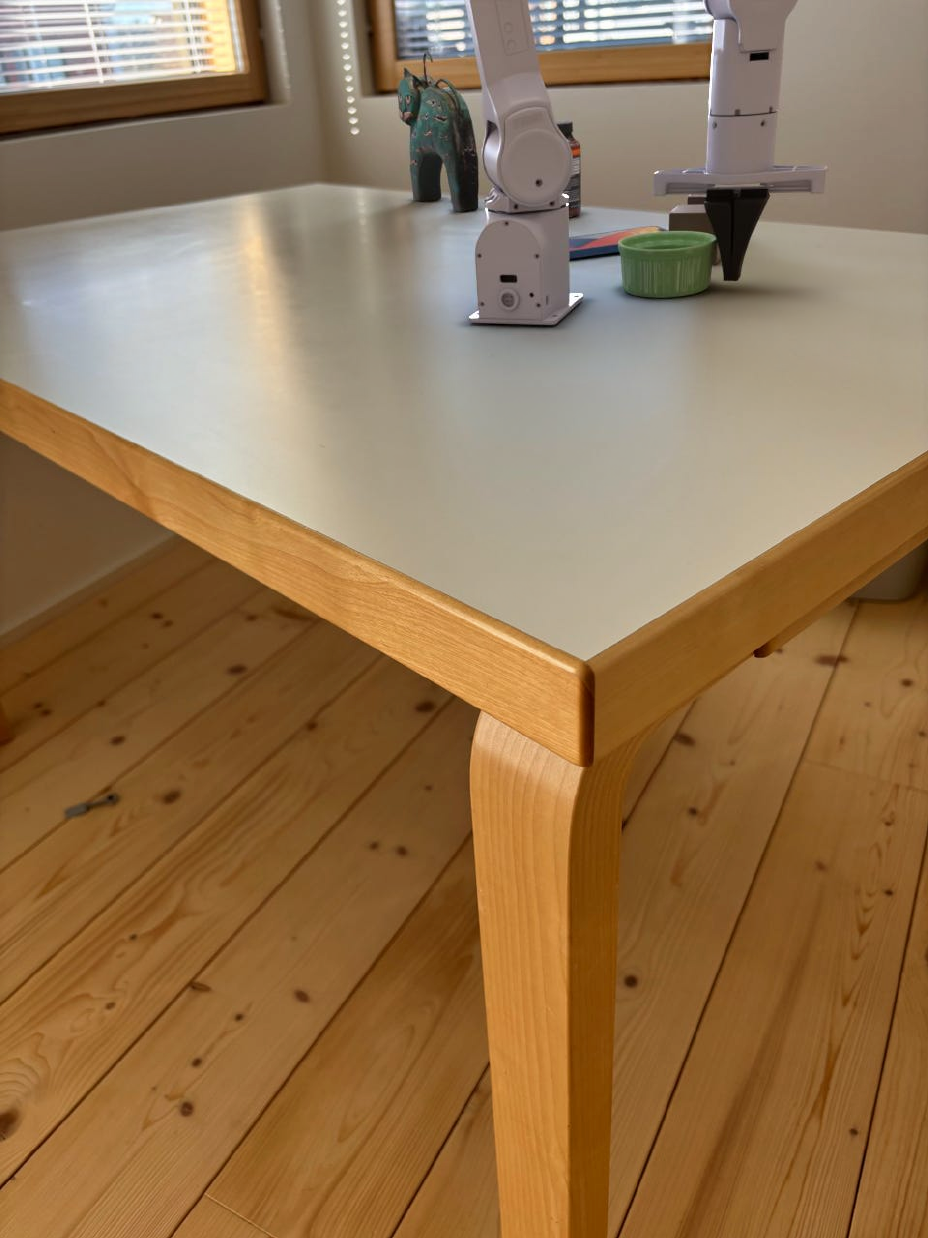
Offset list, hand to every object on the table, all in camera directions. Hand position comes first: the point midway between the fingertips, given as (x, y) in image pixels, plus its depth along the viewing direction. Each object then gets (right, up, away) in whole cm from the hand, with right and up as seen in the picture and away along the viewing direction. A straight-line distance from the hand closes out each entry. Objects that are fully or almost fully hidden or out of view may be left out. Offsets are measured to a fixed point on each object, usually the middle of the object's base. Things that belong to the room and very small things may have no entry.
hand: (731, 278), depth 91 cm
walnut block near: (0, +6, +13) cm, 14 cm away
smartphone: (-9, +10, +20) cm, 24 cm away
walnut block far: (+3, +11, +21) cm, 24 cm away
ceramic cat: (-27, +31, +58) cm, 71 cm away
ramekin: (-6, 0, +3) cm, 6 cm away
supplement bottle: (-12, +23, +42) cm, 49 cm away
